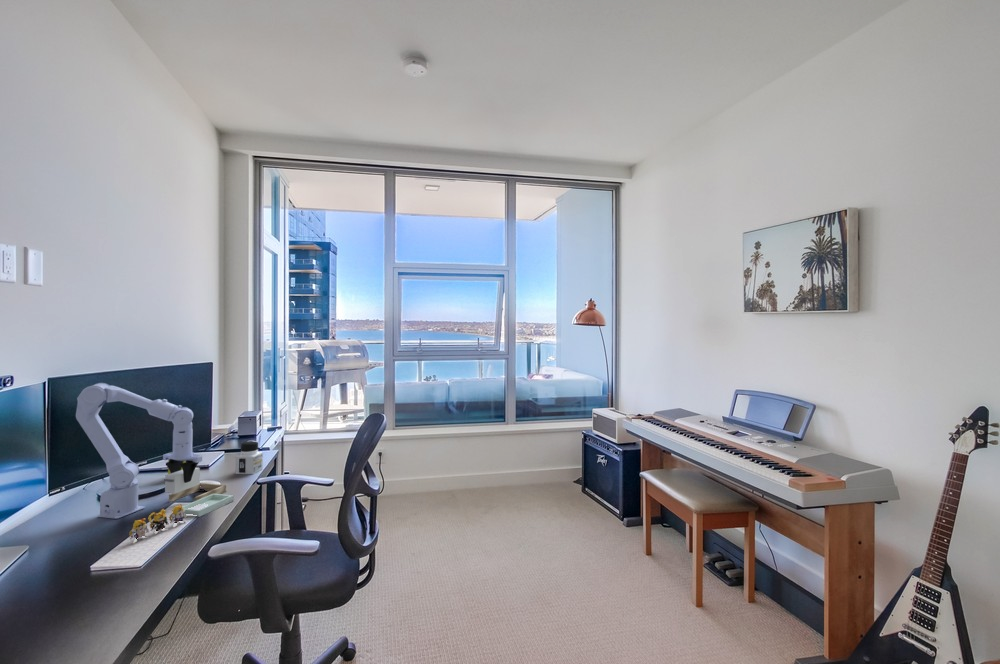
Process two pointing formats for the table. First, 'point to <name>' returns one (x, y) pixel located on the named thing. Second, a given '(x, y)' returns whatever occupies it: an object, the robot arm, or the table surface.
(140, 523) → the figurine set
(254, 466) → the container
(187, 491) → the oak bay
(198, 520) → the table surface
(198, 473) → the white rectangular brick
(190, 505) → the tray
